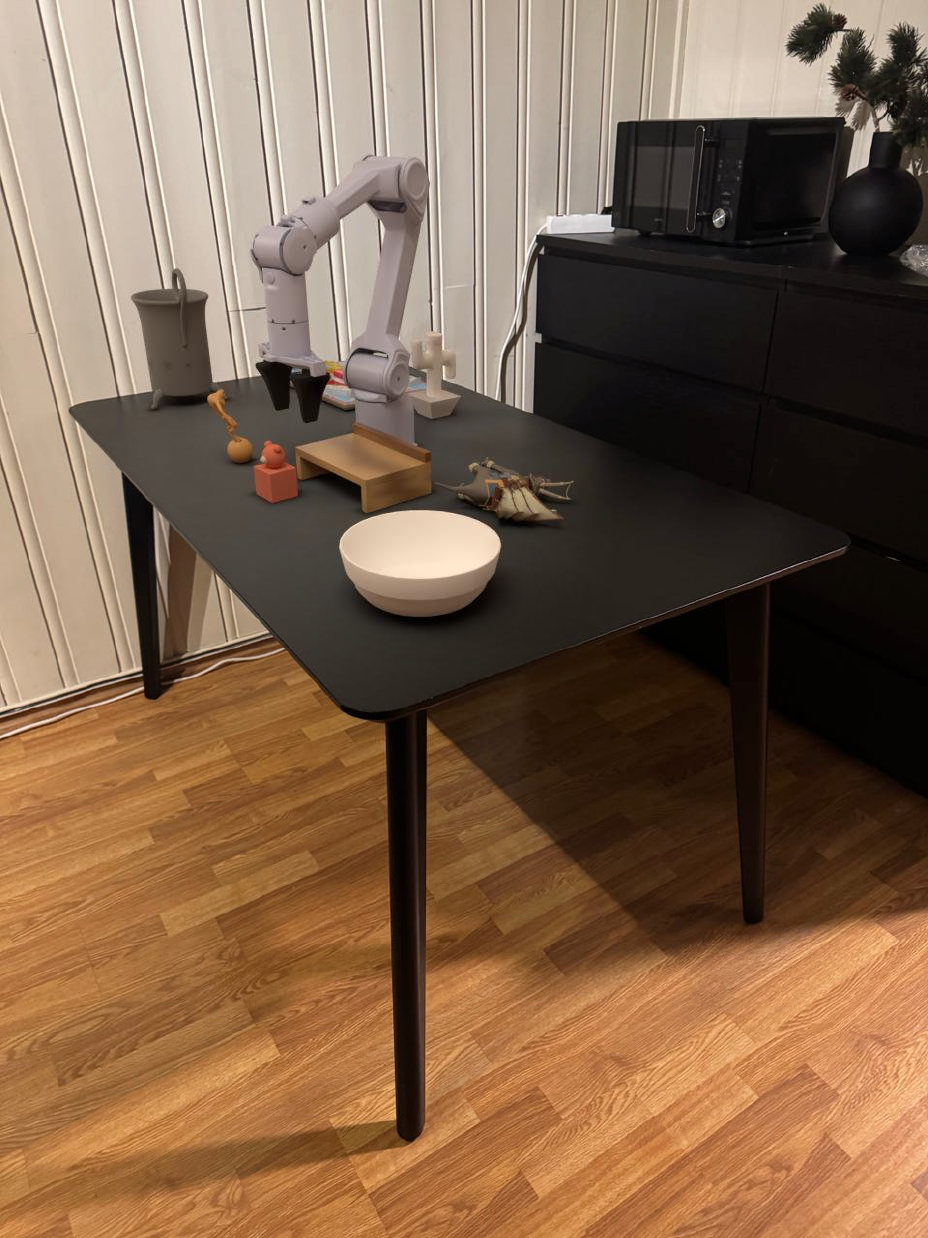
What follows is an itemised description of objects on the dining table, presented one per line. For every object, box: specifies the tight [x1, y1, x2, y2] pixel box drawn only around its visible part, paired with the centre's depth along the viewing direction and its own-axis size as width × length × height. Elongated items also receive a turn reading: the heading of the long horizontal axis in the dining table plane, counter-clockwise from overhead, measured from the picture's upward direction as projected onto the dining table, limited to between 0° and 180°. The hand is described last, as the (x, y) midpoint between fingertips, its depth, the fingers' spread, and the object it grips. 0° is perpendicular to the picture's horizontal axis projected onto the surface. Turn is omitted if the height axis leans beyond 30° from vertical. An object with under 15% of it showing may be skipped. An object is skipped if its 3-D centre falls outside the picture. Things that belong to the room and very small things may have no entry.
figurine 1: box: [207, 388, 254, 464], centre depth 136 cm, size 8×6×12 cm
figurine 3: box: [433, 456, 575, 523], centre depth 122 cm, size 20×6×17 cm
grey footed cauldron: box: [130, 267, 229, 410], centre depth 163 cm, size 19×15×25 cm
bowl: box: [338, 509, 502, 618], centre depth 100 cm, size 18×18×7 cm
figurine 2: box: [407, 330, 462, 420], centre depth 160 cm, size 7×9×15 cm
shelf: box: [294, 422, 432, 514], centre depth 130 cm, size 12×18×6 cm, turn 42°
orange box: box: [253, 440, 299, 504], centre depth 126 cm, size 4×4×8 cm
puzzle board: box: [290, 359, 427, 411], centre depth 180 cm, size 30×23×3 cm
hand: (296, 415), depth 128 cm, fingers open, 7 cm apart
